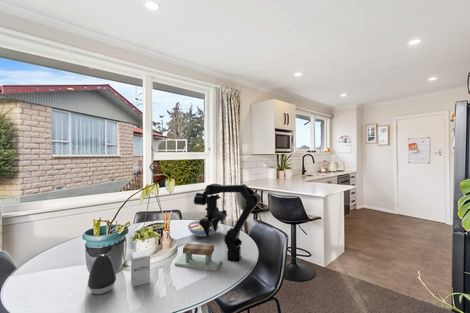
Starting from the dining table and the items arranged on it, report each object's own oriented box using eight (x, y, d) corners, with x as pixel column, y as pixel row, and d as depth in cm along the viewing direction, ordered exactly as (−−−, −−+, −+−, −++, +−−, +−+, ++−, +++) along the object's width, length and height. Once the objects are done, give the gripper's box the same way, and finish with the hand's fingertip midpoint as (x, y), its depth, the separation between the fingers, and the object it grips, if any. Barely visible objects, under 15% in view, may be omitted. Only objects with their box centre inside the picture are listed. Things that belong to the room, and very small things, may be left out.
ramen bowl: (193, 228, 177) (193, 217, 177) (223, 230, 174) (223, 219, 173) (181, 241, 152) (181, 228, 152) (215, 243, 149) (215, 230, 149)
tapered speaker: (85, 301, 91) (85, 262, 91) (90, 286, 100) (90, 251, 100) (115, 294, 95) (115, 258, 95) (116, 281, 105) (116, 248, 104)
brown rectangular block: (182, 253, 120) (182, 247, 120) (186, 248, 126) (186, 243, 126) (211, 255, 118) (211, 249, 118) (214, 250, 124) (214, 245, 124)
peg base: (221, 261, 124) (221, 250, 124) (215, 270, 115) (215, 258, 115) (183, 256, 129) (183, 246, 129) (174, 265, 120) (174, 253, 120)
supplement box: (132, 287, 100) (132, 258, 100) (130, 279, 107) (130, 251, 106) (150, 283, 103) (150, 255, 103) (148, 275, 110) (148, 248, 110)
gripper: (217, 211, 121) (217, 241, 121) (231, 204, 138) (230, 230, 139) (198, 209, 125) (198, 238, 125) (214, 202, 142) (214, 227, 143)
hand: (211, 233), depth 133 cm, fingers open, 9 cm apart
